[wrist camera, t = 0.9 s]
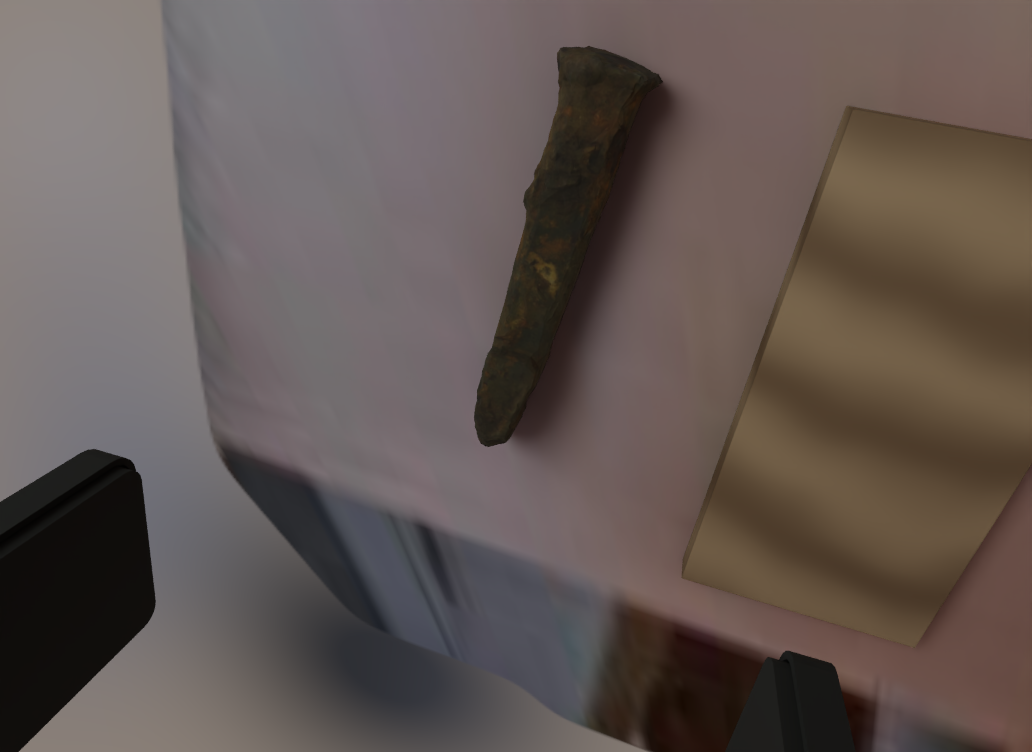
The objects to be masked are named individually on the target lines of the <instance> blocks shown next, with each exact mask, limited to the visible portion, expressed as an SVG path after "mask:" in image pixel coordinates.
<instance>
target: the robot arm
mask: <svg viewBox="0 0 1032 752" xmlns="http://www.w3.org/2000/svg"><path fill="white" fill-rule="evenodd" d="M155 602H156V600H155V591H154V583H153V574H152V565H151V557H150V548H149V540H148V530H147V522H146V514H145V504H144V495H143V487H142V479H141V476H140V474H139V473H138V472H136V469H135V466H134V464H133V462H132V461H131V460H129V459H126V458H123V457H120V456H116V455H113V454H110V453H106V452H103V451H99V450H96V449H92V450H87V451H84V452H82V453H80V454H78V455H77V456H75V457H74V458H72V459H70V460H69V461H67V462H65V463H64V464H62V465H60V466H59V467H57V468H55V469H54V470H52V471H50V472H49V473H47V474H46V475H44V476H42V477H41V478H39V479H37V480H36V481H34V482H33V483H31V484H29V485H28V486H26V487H24V488H23V489H21V490H19V491H18V492H16V493H14V494H13V495H11V496H9V497H8V498H6V499H4V500H3V501H1V502H0V752H19V751H20V750H21V748H23V747H24V746H25V745H26V744H27V743H28V741H30V740H31V739H32V738H33V737H34V736H35V735H36V734H37V733H38V732H39V731H40V730H41V729H42V728H43V727H44V726H45V725H46V724H47V723H48V722H49V721H50V720H51V719H52V718H53V717H54V716H55V715H56V714H57V713H58V712H59V711H60V710H61V709H62V708H63V707H64V706H65V705H66V704H67V703H68V702H69V701H70V700H71V699H72V698H73V697H74V696H75V695H76V694H77V693H78V692H79V691H80V690H81V689H82V688H83V687H84V686H85V685H86V684H87V683H88V682H89V681H90V680H91V679H92V678H93V677H94V676H95V675H96V674H97V673H98V672H99V671H100V670H101V669H102V668H103V667H104V666H105V665H106V664H107V663H108V662H109V661H110V660H112V659H113V658H114V656H115V655H117V654H118V653H119V652H120V651H121V649H123V648H124V647H125V645H127V644H128V643H129V642H130V641H131V640H132V638H134V637H135V636H136V634H137V633H139V632H140V631H141V630H142V629H143V628H144V627H145V625H146V624H147V623H148V622H149V620H150V618H151V617H152V614H153V612H154V609H155ZM725 752H855V747H854V743H853V739H852V734H851V730H850V726H849V722H848V717H847V713H846V709H845V705H844V700H843V696H842V692H841V687H840V683H839V679H838V675H837V672H836V669H835V667H834V666H833V664H832V663H829V662H825V661H822V660H818V659H815V658H811V657H808V656H805V655H801V654H798V653H794V652H791V651H785V652H784V653H783V654H782V656H781V657H780V659H779V660H777V659H774V658H770V657H768V658H767V659H766V660H765V662H764V664H763V666H762V668H761V670H760V673H759V675H758V677H757V680H756V682H755V684H754V687H753V689H752V691H751V693H750V696H749V698H748V700H747V703H746V705H745V707H744V710H743V712H742V714H741V717H740V719H739V721H738V723H737V726H736V728H735V730H734V733H733V735H732V737H731V740H730V742H729V744H728V747H727V749H726V751H725Z"/></svg>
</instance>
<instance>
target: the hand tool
mask: <svg viewBox="0 0 1032 752" xmlns="http://www.w3.org/2000/svg"><path fill="white" fill-rule="evenodd" d="M557 62H558V70H559V79H558V83H559V87H560V89H559V98H558V107H557V111H556V114H555V116H554V119H553V124H552V127H551V130H550V133H549V139H548V142H547V145H546V147H545V149H544V152H543V156H542V159H541V161H540V163H539V164H538V166H537V168H536V170H535V173H534V181H533V182H532V184H531V185H530V187H529V188H528V189H527V190H526V191H525V195H524V201H523V202H524V206H525V208H526V223H525V227H524V230H523V234H522V238H521V242H520V245H519V248H518V252H517V255H516V258H515V262H514V266H513V271H512V276H511V279H510V283H509V287H508V291H507V295H506V299H505V303H504V306H503V310H502V313H501V316H500V320H499V323H498V327H497V330H496V333H495V337H494V342H493V346H492V348H491V350H490V351H489V353H488V355H487V357H486V360H485V365H484V368H483V370H482V377H481V380H480V383H479V386H478V389H477V402H476V406H475V414H474V421H475V428H476V430H477V435H478V439H479V441H480V443H481V444H483V445H485V446H487V447H490V446H494V445H497V444H502V443H505V442H507V441H508V440H509V439H510V437H511V435H512V433H513V432H514V430H515V428H516V426H517V424H518V423H519V421H520V419H521V418H522V415H523V412H524V410H525V408H526V402H527V399H528V398H529V396H530V394H531V392H532V391H533V390H534V388H535V386H536V384H537V382H538V380H539V378H540V375H541V373H542V371H543V369H544V366H545V364H546V362H547V360H548V358H549V355H550V349H551V346H552V342H553V339H554V337H555V334H556V332H557V330H558V327H559V324H560V322H561V319H562V317H563V314H564V312H565V309H566V307H567V304H568V301H569V298H570V296H571V293H572V290H573V288H574V285H575V283H576V280H577V277H578V274H579V272H580V269H581V266H582V263H583V260H584V257H585V254H586V251H587V248H588V245H589V243H590V240H591V238H592V236H593V233H594V230H595V227H596V224H597V222H598V221H599V219H600V217H601V213H602V211H603V209H604V207H605V204H606V202H607V200H608V197H609V195H610V191H611V188H612V185H613V181H614V178H615V176H616V173H617V170H618V167H619V164H620V159H621V156H622V154H623V151H624V149H625V145H626V142H627V139H628V135H629V132H630V129H631V127H632V124H633V122H634V119H635V116H636V114H637V111H638V109H639V106H640V104H641V102H642V100H643V99H644V97H645V96H646V94H647V92H649V91H651V90H653V89H654V88H656V87H658V86H659V84H661V83H662V82H663V81H662V80H661V78H660V76H659V75H658V74H656V73H653V72H651V71H650V70H648V69H647V68H645V67H643V66H642V65H639V64H637V63H635V62H633V61H631V60H628V59H627V58H624V57H621V56H619V55H616V54H613V53H611V52H608V51H606V50H602V49H597V48H593V47H590V46H588V47H585V48H582V47H562V48H560V50H559V52H558V53H557Z"/></svg>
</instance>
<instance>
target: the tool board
mask: <svg viewBox="0 0 1032 752" xmlns="http://www.w3.org/2000/svg"><path fill="white" fill-rule="evenodd" d="M1031 464H1032V139H1028V138H1022V137H1017V136H1011V135H1006V134H1000V133H995V132H989V131H984V130H978V129H972V128H967V127H961V126H956V125H950V124H945V123H939V122H934V121H928V120H923V119H917V118H912V117H906V116H901V115H895V114H890V113H884V112H878V111H873V110H867V109H862V108H856V107H851V106H846V109H845V112H844V114H843V117H842V120H841V123H840V125H839V128H838V131H837V134H836V136H835V139H834V142H833V145H832V148H831V150H830V153H829V156H828V159H827V161H826V164H825V167H824V170H823V172H822V175H821V178H820V181H819V184H818V186H817V189H816V192H815V195H814V197H813V200H812V203H811V206H810V208H809V211H808V214H807V217H806V220H805V222H804V225H803V228H802V231H801V233H800V236H799V239H798V242H797V245H796V247H795V250H794V253H793V256H792V258H791V261H790V264H789V267H788V269H787V272H786V275H785V278H784V281H783V283H782V286H781V289H780V292H779V294H778V297H777V300H776V303H775V305H774V308H773V311H772V314H771V317H770V319H769V322H768V325H767V328H766V330H765V333H764V336H763V339H762V341H761V344H760V347H759V350H758V353H757V355H756V358H755V361H754V364H753V366H752V369H751V372H750V375H749V378H748V380H747V383H746V386H745V389H744V391H743V394H742V397H741V400H740V402H739V405H738V408H737V411H736V414H735V416H734V419H733V422H732V425H731V427H730V430H729V433H728V436H727V438H726V441H725V444H724V447H723V450H722V452H721V455H720V458H719V461H718V463H717V466H716V469H715V472H714V475H713V477H712V480H711V483H710V486H709V488H708V491H707V494H706V497H705V499H704V502H703V505H702V508H701V511H700V513H699V516H698V519H697V522H696V524H695V527H694V530H693V533H692V535H691V538H690V541H689V544H688V547H687V549H686V552H685V555H684V558H683V564H682V578H683V579H686V580H690V581H693V582H696V583H700V584H703V585H706V586H710V587H713V588H716V589H720V590H723V591H726V592H730V593H733V594H736V595H740V596H743V597H746V598H750V599H753V600H756V601H760V602H763V603H766V604H770V605H773V606H777V607H780V608H783V609H787V610H790V611H793V612H797V613H800V614H803V615H807V616H810V617H813V618H817V619H820V620H823V621H827V622H830V623H833V624H837V625H840V626H843V627H847V628H850V629H853V630H857V631H860V632H863V633H867V634H870V635H873V636H877V637H880V638H883V639H887V640H890V641H893V642H897V643H900V644H903V645H907V646H910V647H913V648H915V647H916V645H917V643H918V642H919V640H920V639H921V637H922V636H923V634H924V632H925V631H926V629H927V628H928V626H929V625H930V623H931V621H932V620H933V618H934V617H935V615H936V614H937V612H938V610H939V609H940V607H941V606H942V604H943V603H944V601H945V599H946V598H947V596H948V595H949V593H950V592H951V590H952V588H953V587H954V585H955V584H956V582H957V581H958V579H959V577H960V576H961V574H962V573H963V571H964V570H965V568H966V566H967V565H968V563H969V562H970V560H971V559H972V557H973V555H974V554H975V552H976V551H977V549H978V548H979V546H980V544H981V543H982V541H983V540H984V538H985V537H986V535H987V533H988V532H989V530H990V529H991V527H992V526H993V524H994V522H995V521H996V519H997V518H998V516H999V515H1000V513H1001V511H1002V510H1003V508H1004V507H1005V505H1006V504H1007V502H1008V501H1009V499H1010V497H1011V496H1012V494H1013V493H1014V491H1015V490H1016V488H1017V486H1018V485H1019V483H1020V482H1021V480H1022V479H1023V477H1024V475H1025V474H1026V472H1027V471H1028V469H1029V468H1030V466H1031Z"/></svg>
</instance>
